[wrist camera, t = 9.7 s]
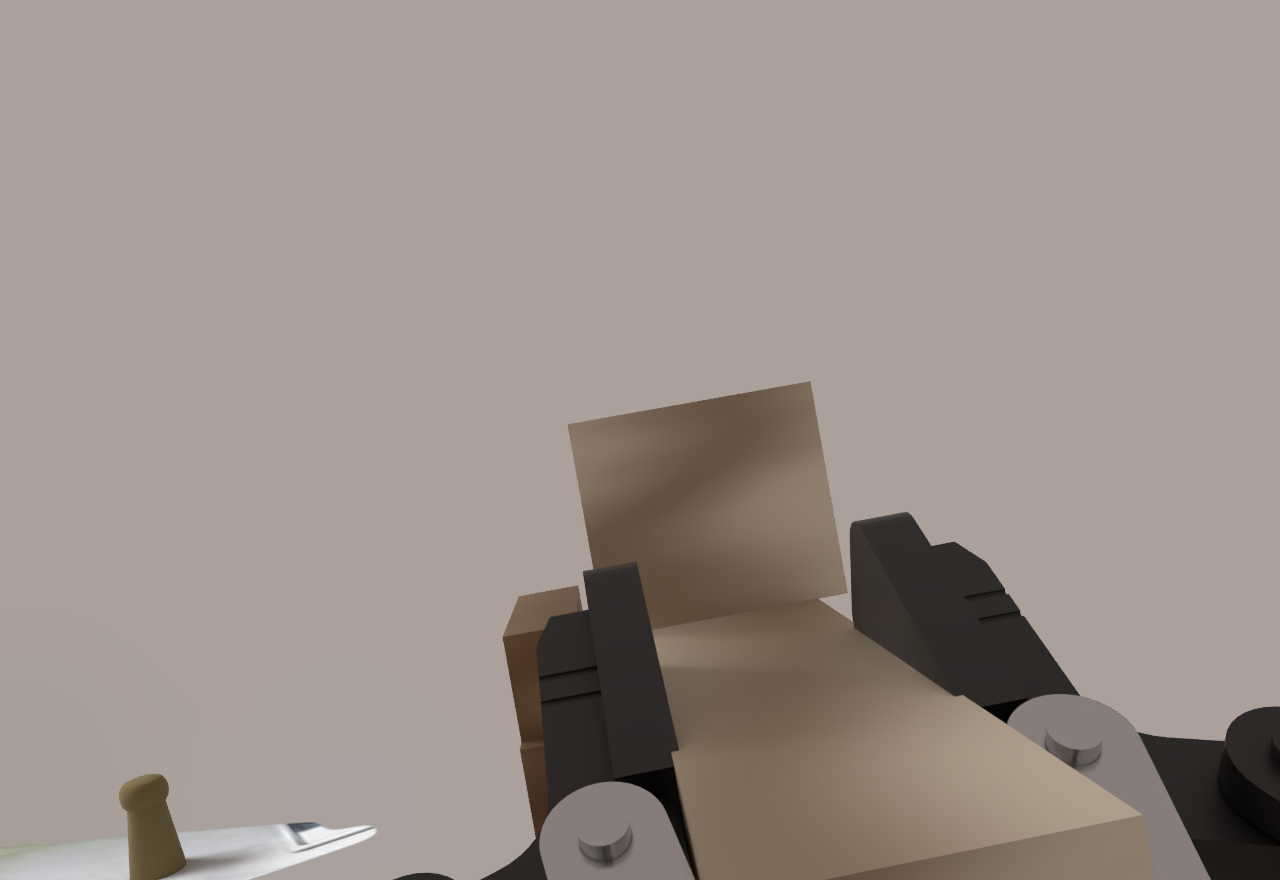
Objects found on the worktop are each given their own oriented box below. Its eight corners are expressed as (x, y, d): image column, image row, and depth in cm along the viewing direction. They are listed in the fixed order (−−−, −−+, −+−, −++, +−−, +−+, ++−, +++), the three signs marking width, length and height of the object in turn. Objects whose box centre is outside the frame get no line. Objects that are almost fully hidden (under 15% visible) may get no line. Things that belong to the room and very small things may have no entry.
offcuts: (549, 911, 19) (500, 642, 19) (557, 798, 25) (520, 593, 25) (624, 895, 19) (576, 628, 19) (614, 787, 25) (578, 582, 25)
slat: (672, 1093, 7) (548, 400, 7) (609, 641, 23) (571, 428, 23) (1242, 972, 7) (1125, 300, 7) (788, 608, 23) (751, 397, 23)
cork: (118, 885, 120) (100, 790, 120) (151, 862, 126) (135, 771, 126) (165, 880, 119) (147, 784, 119) (197, 857, 125) (180, 765, 125)
